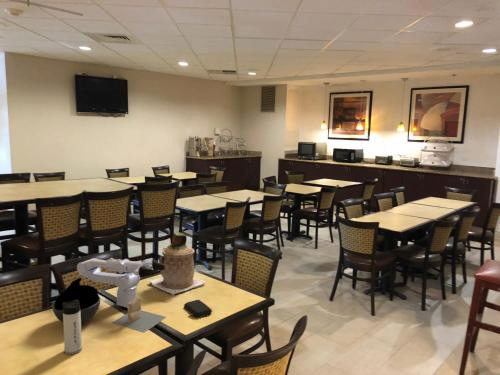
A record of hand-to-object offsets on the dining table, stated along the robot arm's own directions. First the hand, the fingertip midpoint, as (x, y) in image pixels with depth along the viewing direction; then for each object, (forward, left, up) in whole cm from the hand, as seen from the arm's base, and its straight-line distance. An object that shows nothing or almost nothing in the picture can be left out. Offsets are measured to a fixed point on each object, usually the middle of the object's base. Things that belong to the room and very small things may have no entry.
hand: (159, 270), depth 182 cm
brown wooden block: (-5, -12, -21) cm, 25 cm away
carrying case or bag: (+15, +10, -22) cm, 29 cm away
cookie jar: (-13, +33, -22) cm, 42 cm away
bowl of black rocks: (-27, -25, -22) cm, 43 cm away
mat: (-3, -11, -22) cm, 25 cm away
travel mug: (-10, -42, -22) cm, 48 cm away
